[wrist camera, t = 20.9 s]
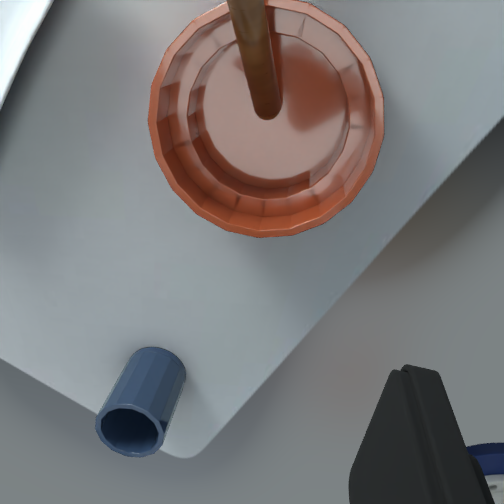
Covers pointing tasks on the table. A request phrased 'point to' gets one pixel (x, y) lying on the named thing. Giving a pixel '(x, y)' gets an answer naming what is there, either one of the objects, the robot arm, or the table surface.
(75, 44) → the table surface
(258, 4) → the stick
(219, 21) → the bowl
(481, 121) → the table surface
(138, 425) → the holder
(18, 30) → the plate
